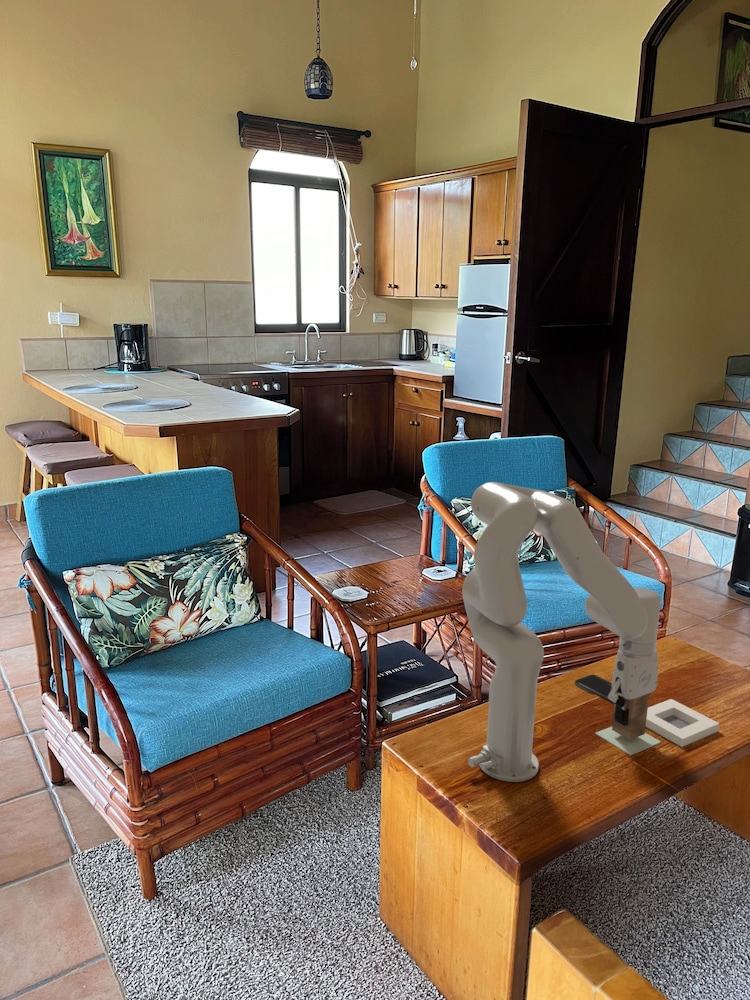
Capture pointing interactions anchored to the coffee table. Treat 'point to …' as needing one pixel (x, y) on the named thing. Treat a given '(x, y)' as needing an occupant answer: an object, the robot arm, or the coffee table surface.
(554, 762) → the coffee table surface
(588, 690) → the phone
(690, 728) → the pocket plate
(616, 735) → the green mat
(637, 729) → the walnut block
